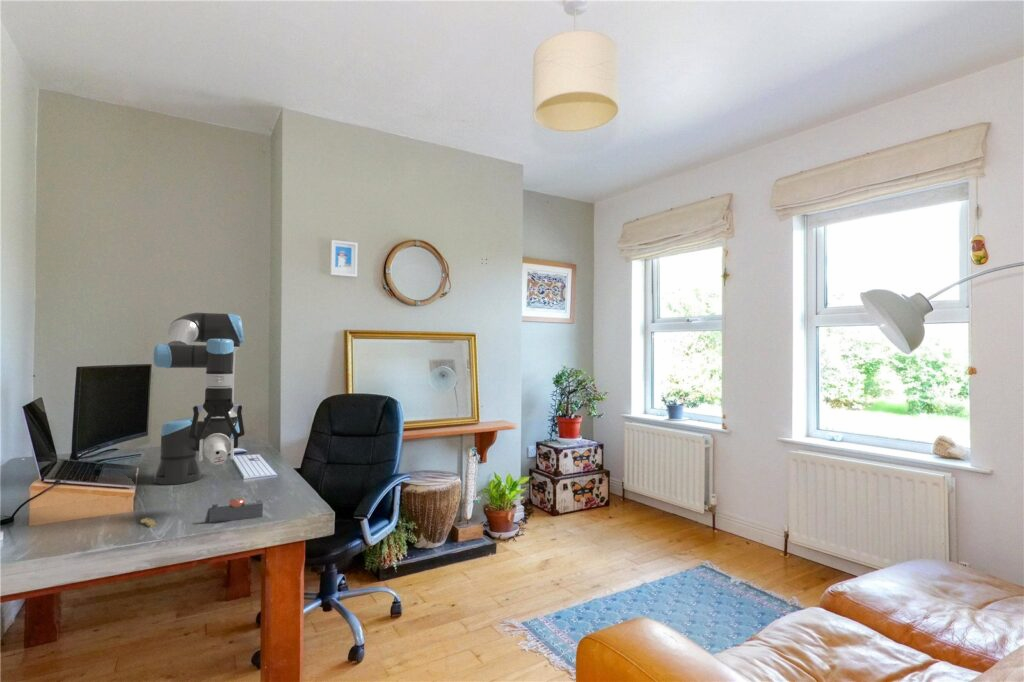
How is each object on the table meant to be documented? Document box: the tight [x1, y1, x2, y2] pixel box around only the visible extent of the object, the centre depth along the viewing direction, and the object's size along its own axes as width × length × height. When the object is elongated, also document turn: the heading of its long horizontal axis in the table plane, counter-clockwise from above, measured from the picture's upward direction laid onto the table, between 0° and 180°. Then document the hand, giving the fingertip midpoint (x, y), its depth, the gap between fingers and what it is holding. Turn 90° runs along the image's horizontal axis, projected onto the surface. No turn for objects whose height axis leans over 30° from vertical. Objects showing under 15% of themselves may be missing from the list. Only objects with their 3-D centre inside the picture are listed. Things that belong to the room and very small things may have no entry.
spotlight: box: [203, 433, 231, 466], centre depth 161 cm, size 8×11×8 cm
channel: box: [208, 497, 264, 524], centre depth 160 cm, size 16×14×6 cm
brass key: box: [140, 517, 158, 528], centre depth 149 cm, size 7×3×1 cm, turn 52°
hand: (216, 459), depth 163 cm, fingers closed on spotlight, 8 cm apart
